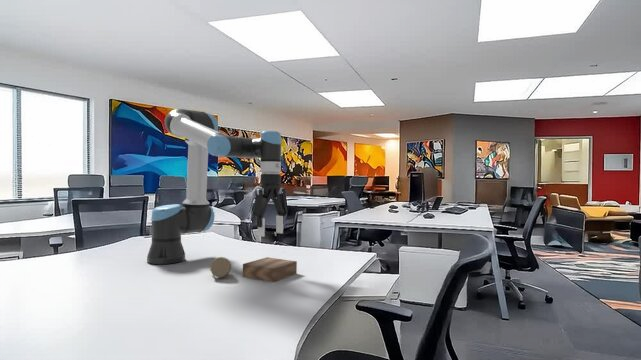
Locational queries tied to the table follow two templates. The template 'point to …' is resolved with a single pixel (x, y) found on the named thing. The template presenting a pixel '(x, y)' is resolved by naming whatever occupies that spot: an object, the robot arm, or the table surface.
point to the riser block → (269, 269)
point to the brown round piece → (220, 267)
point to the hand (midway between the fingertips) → (270, 234)
